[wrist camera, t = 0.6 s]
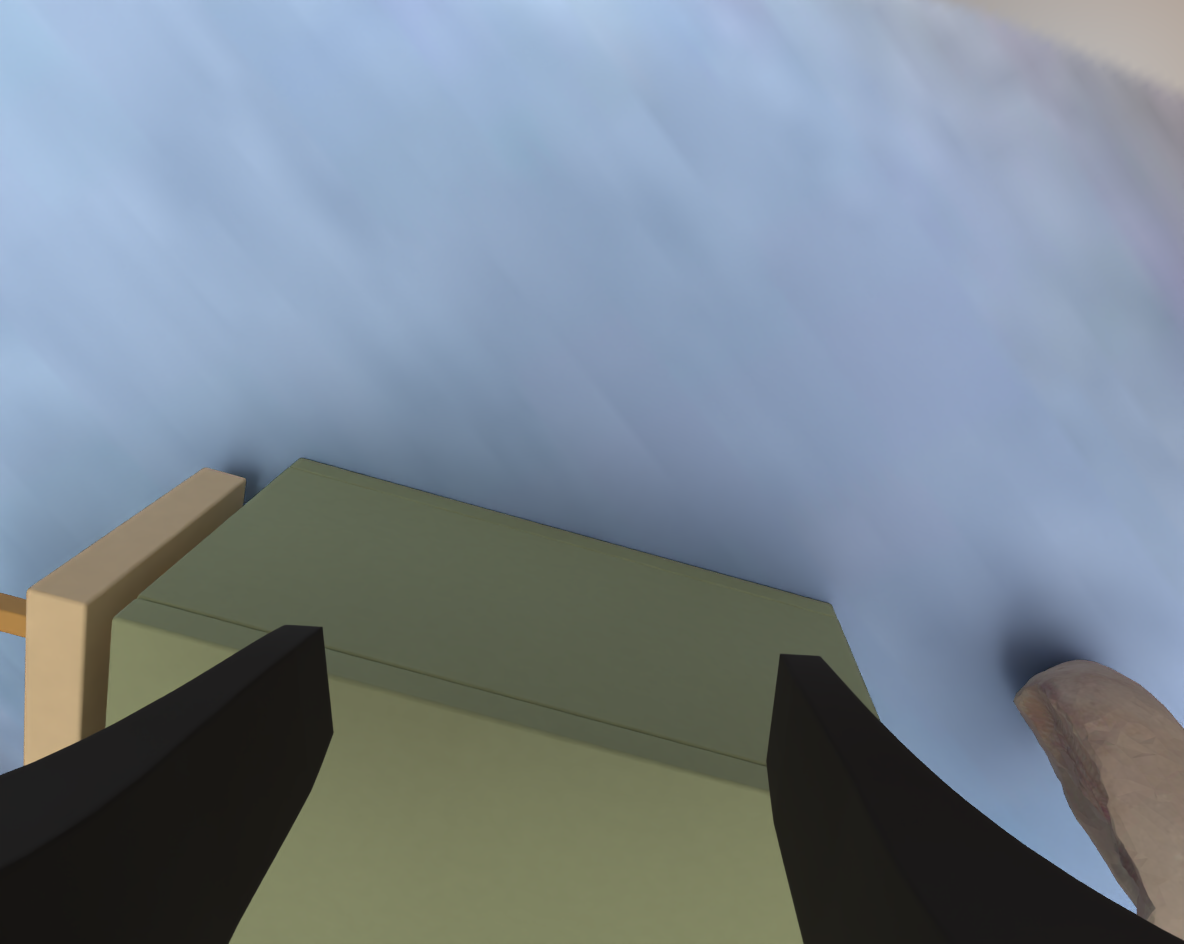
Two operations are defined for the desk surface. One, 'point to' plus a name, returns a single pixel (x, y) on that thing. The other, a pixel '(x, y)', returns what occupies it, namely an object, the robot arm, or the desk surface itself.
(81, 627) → the drawer
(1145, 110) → the desk surface
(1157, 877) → the fossil
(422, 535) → the cabinet
